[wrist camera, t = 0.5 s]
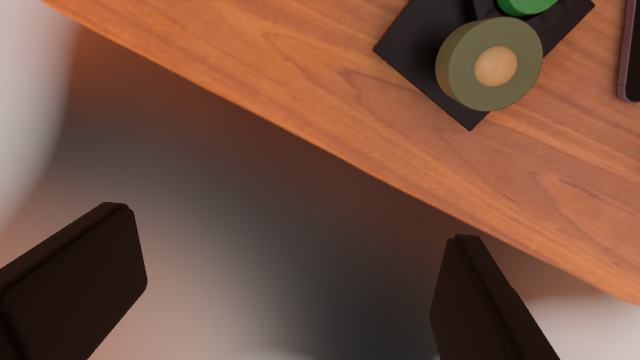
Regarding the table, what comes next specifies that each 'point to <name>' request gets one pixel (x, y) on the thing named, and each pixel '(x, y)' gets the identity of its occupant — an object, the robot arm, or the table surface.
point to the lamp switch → (524, 6)
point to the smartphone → (630, 55)
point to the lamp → (489, 63)
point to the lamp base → (444, 18)
